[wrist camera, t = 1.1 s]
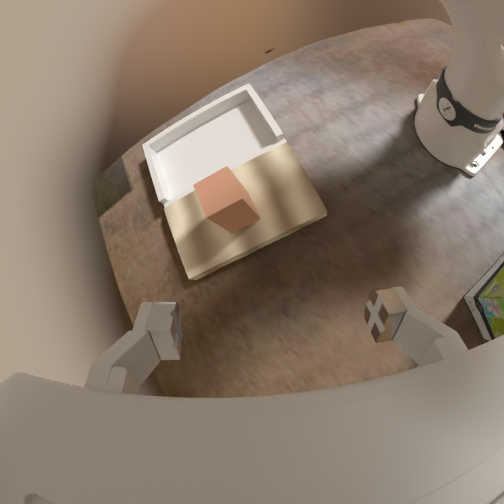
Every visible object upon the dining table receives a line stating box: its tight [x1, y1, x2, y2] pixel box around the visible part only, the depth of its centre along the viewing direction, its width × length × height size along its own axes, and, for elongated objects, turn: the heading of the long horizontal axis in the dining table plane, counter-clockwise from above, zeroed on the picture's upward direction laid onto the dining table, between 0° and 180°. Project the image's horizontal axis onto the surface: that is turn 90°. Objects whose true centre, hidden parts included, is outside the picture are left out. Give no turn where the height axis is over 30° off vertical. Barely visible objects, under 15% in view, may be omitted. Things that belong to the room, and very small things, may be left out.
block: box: [193, 166, 261, 233], centre depth 38 cm, size 5×5×10 cm
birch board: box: [164, 142, 327, 280], centre depth 45 cm, size 24×13×3 cm, turn 114°
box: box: [143, 84, 287, 208], centre depth 47 cm, size 24×15×4 cm, turn 114°
